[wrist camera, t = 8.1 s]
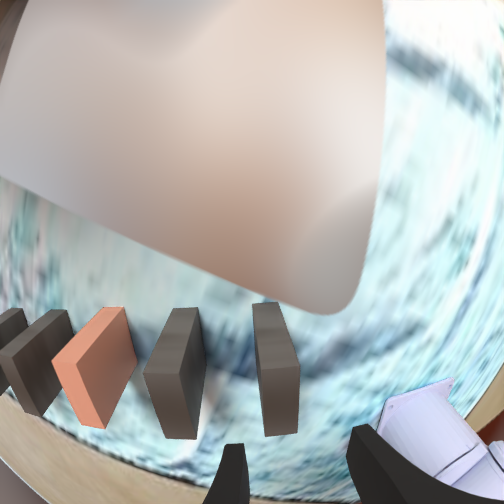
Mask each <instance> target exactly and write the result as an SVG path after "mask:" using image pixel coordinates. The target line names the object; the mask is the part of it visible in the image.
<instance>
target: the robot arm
mask: <svg viewBox="0 0 504 504" xmlns="http://www.w3.org/2000/svg"><path fill="white" fill-rule="evenodd" d="M453 384H454V378H453V377H450V378H447V379H444V380H442V381H439V382H436V383H434V384H431V385H428V386H425V387H422V388H419V389H416V390H413V391H410V392H407V393H404V394H400V395H397V396H394V397H390V398H389V399H387V400H386V402H385V406H384V409H383V412H382V416H381V419H380V422H379V426H378V429H377V432H376V431H375V430H374V429H373V428H372V427H371V426H370V425H369V424H364V425H360V426H356V427H353V428H352V433H351V437H350V441H349V445H348V450H347V453H346V459H347V463H348V467H349V471H350V474H351V478H352V480H353V482H354V485H355V487H356V490H357V492H358V494H359V497H360V499H361V501H362V504H504V442H503V441H497V442H496V441H493V442H492V443H491V444H490V445H489V446H487V445H485V444H484V443H483V441H482V440H481V439H480V438H479V437H478V435H477V434H476V433H475V432H474V431H473V429H472V428H471V427H470V426H469V425H468V423H467V422H466V421H465V420H464V419H463V418H462V416H461V415H460V414H459V413H458V412H457V411H456V409H455V408H454V407H453V406H452V405H451V404H450V403H449V401H448V400H447V399H448V397H449V394H450V392H451V389H452V386H453ZM249 501H250V488H249V474H248V466H247V460H246V454H245V448H244V443H239V444H226V445H225V446H224V451H223V455H222V459H221V462H220V465H219V468H218V471H217V473H216V476H215V478H214V481H213V483H212V485H211V488H210V490H209V492H208V494H207V496H206V498H205V500H204V501H203V503H202V504H249Z"/></svg>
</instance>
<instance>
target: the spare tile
mask: <svg viewBox="0 0 504 504" xmlns="http://www.w3.org/2000/svg"><path fill="white" fill-rule="evenodd" d="M137 363H138V361H137V358H136V354H135V351H134V347H133V343H132V340H131V336H130V332H129V328H128V323H127V319H126V315H125V310H124V307H103V308H102V309H101V310H100V311H99V312H98V313H97V314H96V315H95V316H94V317H93V318H92V319H91V320H90V321H89V322H88V323H87V324H86V325H85V326H84V327H83V328H82V329H81V330H80V331H79V332H78V333H77V334H76V335H75V336H74V337H73V338H72V339H71V340H70V341H69V343H68V344H67V345H66V346H65V347H64V348H63V349H62V350H61V351H60V352H59V353H58V354H57V355H56V356H55V357H54V359H53V360H52V364H53V366H54V369H55V371H56V373H57V376H58V378H59V380H60V383H61V385H62V387H63V389H64V391H65V394H66V396H67V398H68V400H69V402H70V404H71V406H72V408H73V410H74V412H75V414H76V416H77V417H78V419H79V421H80V423H81V425H85V426H90V427H95V428H101V429H106V426H107V424H108V422H109V420H110V418H111V416H112V414H113V412H114V410H115V407H116V405H117V403H118V401H119V399H120V397H121V395H122V393H123V391H124V389H125V387H126V385H127V383H128V381H129V379H130V377H131V375H132V373H133V371H134V369H135V367H136V365H137Z"/></svg>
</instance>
